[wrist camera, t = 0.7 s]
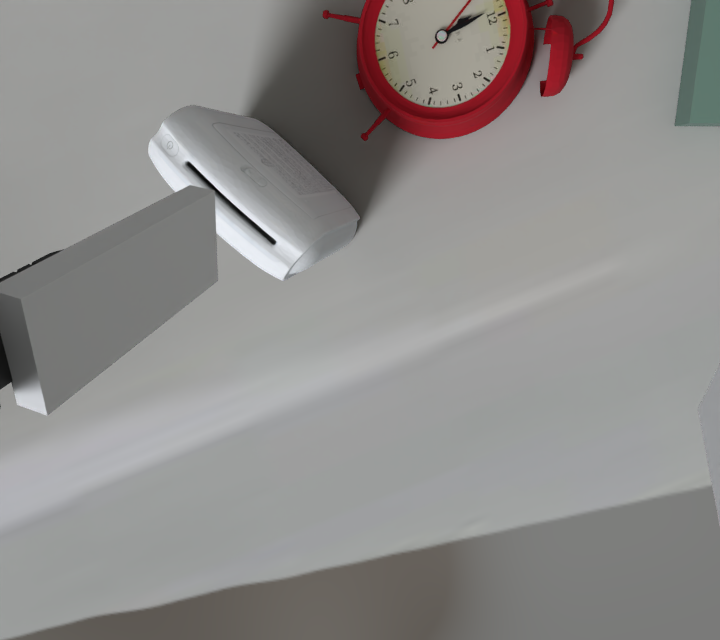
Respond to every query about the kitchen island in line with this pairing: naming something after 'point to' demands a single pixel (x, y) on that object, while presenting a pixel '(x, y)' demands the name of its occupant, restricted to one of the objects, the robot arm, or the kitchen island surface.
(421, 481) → the kitchen island surface
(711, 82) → the socket board
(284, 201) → the photo printer
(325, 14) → the alarm clock
